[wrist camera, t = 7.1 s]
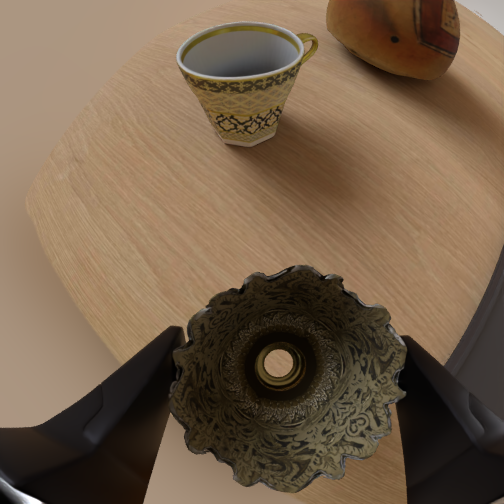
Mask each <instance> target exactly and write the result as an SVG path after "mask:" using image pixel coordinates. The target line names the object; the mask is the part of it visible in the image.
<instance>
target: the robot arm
mask: <svg viewBox="0 0 504 504" xmlns="http://www.w3.org/2000/svg"><path fill="white" fill-rule="evenodd" d="M400 337H401V338H402V340H403V341H404V343H405V345H406V347H407V353H406V359H405V365H404V368H403V369H402V370H401V371H400V373H399V376H398V382H397V384H398V387H399V388H400V389H401V390H402V391H404V392H405V391H406V396H405V397H404V398H402V399H400V400H399V401H398V402H395V404H396V410H397V415H398V421H399V427H400V433H401V440H402V448H403V455H404V464H405V474H406V486H407V504H504V421H503V420H502V419H501V418H500V417H498V416H497V415H496V414H495V413H493V412H492V411H491V410H490V409H489V408H487V407H486V406H485V405H484V404H483V403H482V402H481V401H480V400H479V399H477V398H476V397H475V396H474V395H473V394H472V393H471V392H469V390H468V389H467V388H466V387H465V386H464V385H463V384H462V383H461V382H460V381H458V380H457V379H456V378H455V377H454V376H453V375H452V374H451V373H450V372H449V371H448V370H447V369H446V368H444V367H443V366H442V365H441V364H440V363H439V362H438V361H437V360H436V359H435V358H434V357H432V356H431V355H430V354H429V353H428V352H427V351H426V350H425V349H424V348H422V347H421V346H420V345H419V344H418V343H417V342H416V341H415V340H413V339H412V338H411V337H410V336H408V335H402V336H400ZM185 343H186V341H185V336H184V331H183V328H182V327H179V326H169V327H168V328H167V329H166V330H165V331H163V332H162V333H161V334H160V335H159V336H157V337H156V338H155V339H154V340H153V341H151V342H150V343H149V344H148V345H147V346H145V347H144V348H143V349H142V350H141V351H139V352H138V353H137V354H136V355H134V356H133V357H132V358H131V359H130V360H128V361H127V362H126V363H125V364H124V365H122V366H121V367H120V368H119V369H118V370H116V371H115V372H114V373H113V374H112V375H110V376H109V377H108V378H107V379H106V380H104V381H103V382H102V383H101V384H100V385H98V386H97V387H96V388H95V389H93V390H92V391H91V392H90V393H88V394H87V395H86V396H84V397H83V398H82V399H80V400H79V401H77V402H76V403H74V404H73V405H72V406H70V407H69V408H67V409H65V410H64V411H62V412H61V413H59V414H58V415H56V416H54V417H53V418H51V419H50V420H48V421H46V422H45V423H43V424H40V425H38V426H34V427H24V428H0V504H143V502H144V498H145V495H146V491H147V488H148V484H149V480H150V477H151V474H152V470H153V467H154V463H155V460H156V457H157V453H158V450H159V447H160V444H161V440H162V437H163V433H164V430H165V427H166V424H167V421H168V418H169V415H170V410H169V407H168V395H169V391H170V387H171V385H172V383H173V382H174V381H176V380H177V378H176V375H177V371H178V368H177V367H176V365H175V363H174V360H173V357H172V354H173V350H174V349H176V348H178V347H180V346H183V345H184V344H185Z"/></svg>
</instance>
